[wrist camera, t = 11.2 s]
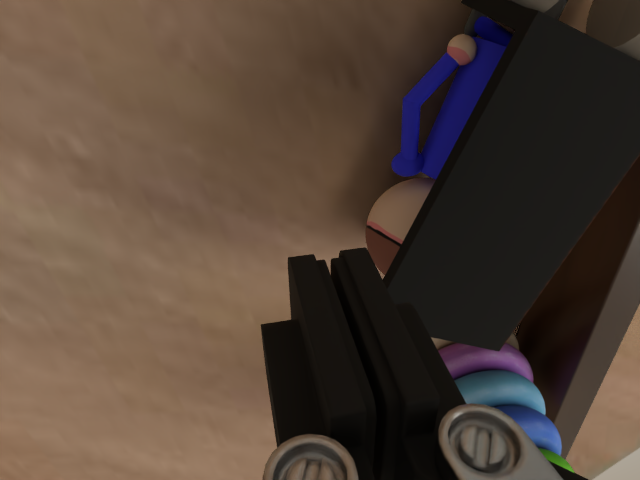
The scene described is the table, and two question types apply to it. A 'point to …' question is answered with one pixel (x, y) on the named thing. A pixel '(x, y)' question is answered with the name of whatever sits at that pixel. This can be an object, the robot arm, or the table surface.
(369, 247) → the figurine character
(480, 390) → the stacking toy
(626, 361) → the table surface
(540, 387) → the walnut board
